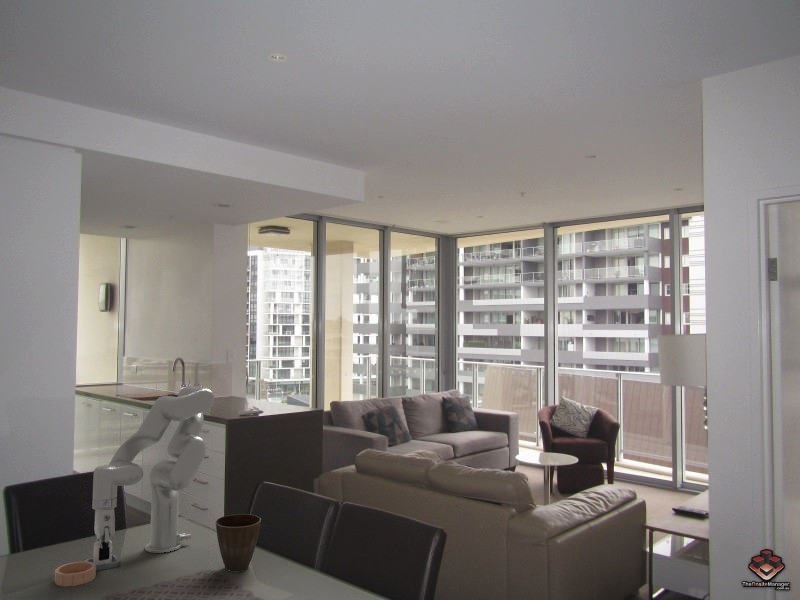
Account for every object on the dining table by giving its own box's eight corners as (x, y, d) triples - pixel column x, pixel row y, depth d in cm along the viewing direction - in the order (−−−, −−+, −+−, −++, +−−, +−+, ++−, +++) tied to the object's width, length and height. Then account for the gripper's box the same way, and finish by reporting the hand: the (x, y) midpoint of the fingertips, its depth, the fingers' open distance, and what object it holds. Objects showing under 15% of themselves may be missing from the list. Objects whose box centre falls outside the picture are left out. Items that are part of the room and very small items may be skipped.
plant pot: (265, 571, 212) (267, 522, 212) (221, 579, 204) (222, 529, 205) (251, 557, 224) (253, 511, 225) (209, 565, 217) (210, 517, 218)
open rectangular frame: (114, 558, 221) (114, 554, 222) (120, 566, 214) (120, 561, 215) (84, 563, 216) (84, 559, 216) (88, 571, 209) (89, 567, 209)
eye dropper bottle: (103, 568, 212) (105, 532, 213) (90, 566, 214) (92, 530, 215) (113, 564, 216) (114, 528, 217) (100, 561, 218) (102, 526, 219)
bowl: (91, 569, 211) (91, 559, 211) (98, 581, 201) (98, 569, 202) (52, 577, 204) (53, 566, 204) (57, 589, 195) (58, 577, 195)
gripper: (121, 506, 212) (119, 562, 211) (111, 495, 225) (109, 548, 224) (97, 510, 207) (95, 567, 206) (88, 498, 221) (85, 552, 220)
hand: (102, 556), depth 215 cm, fingers closed on eye dropper bottle, 4 cm apart
